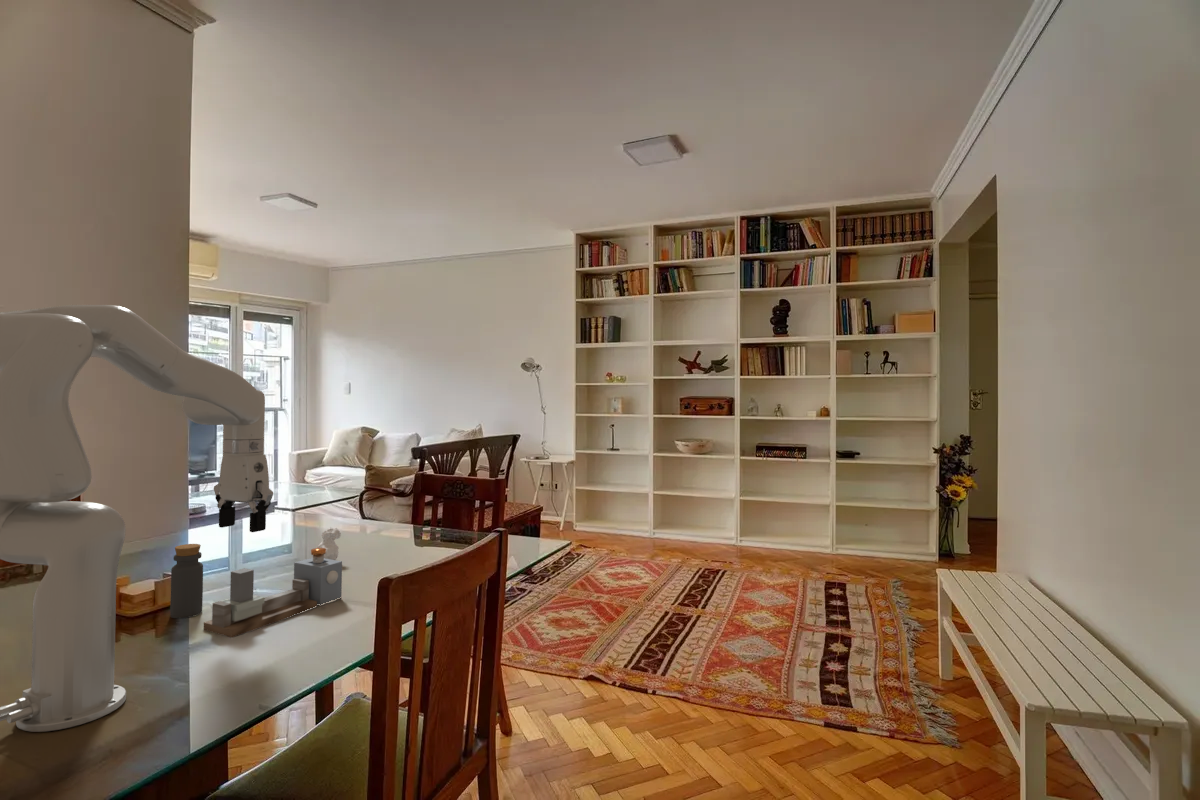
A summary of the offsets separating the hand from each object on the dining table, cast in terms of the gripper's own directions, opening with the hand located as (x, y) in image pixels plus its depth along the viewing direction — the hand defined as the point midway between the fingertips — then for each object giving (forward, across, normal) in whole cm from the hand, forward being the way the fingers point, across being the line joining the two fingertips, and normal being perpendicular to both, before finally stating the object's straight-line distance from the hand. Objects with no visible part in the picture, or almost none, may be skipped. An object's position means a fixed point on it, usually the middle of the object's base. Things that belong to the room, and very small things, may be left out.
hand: (242, 528), depth 127 cm
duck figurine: (+21, +24, -43) cm, 54 cm away
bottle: (+21, +17, +1) cm, 26 cm away
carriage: (+18, 0, 0) cm, 18 cm away
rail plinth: (+20, 0, -5) cm, 21 cm away
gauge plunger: (+14, -1, -19) cm, 23 cm away
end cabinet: (+20, -1, -19) cm, 28 cm away
